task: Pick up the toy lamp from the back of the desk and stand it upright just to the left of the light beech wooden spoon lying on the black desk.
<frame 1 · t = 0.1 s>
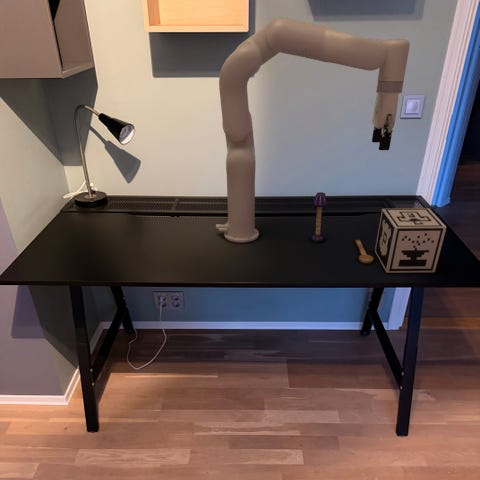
hand: (380, 146, 147), 31 cm above the table, tool pointing down, fingers open, 9 cm apart
toy lamp: (316, 239, 163), on the table
wooden spoon: (362, 253, 154), on the table
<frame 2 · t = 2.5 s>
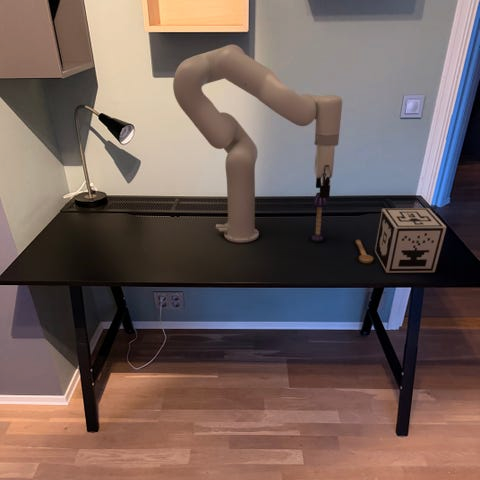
hand: (322, 192, 153), 17 cm above the table, tool pointing down, fingers open, 9 cm apart
nothing on the table moved.
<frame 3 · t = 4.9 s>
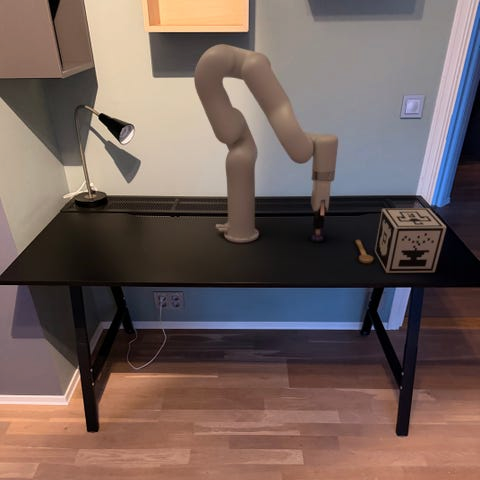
hand: (318, 226, 160), 5 cm above the table, tool pointing down, fingers closed on toy lamp
toy lamp: (316, 239, 163), on the table, touching gripper
everything else where it was.
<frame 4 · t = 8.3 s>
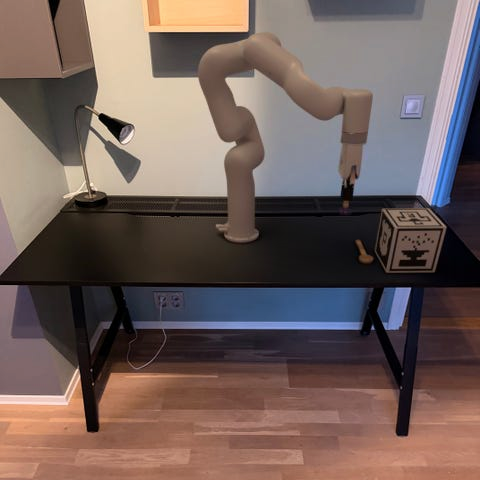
hand: (346, 198, 143), 19 cm above the table, tool pointing down, fingers closed on toy lamp
toy lamp: (344, 213, 146), point 14 cm above the table, touching gripper
everything else where it was.
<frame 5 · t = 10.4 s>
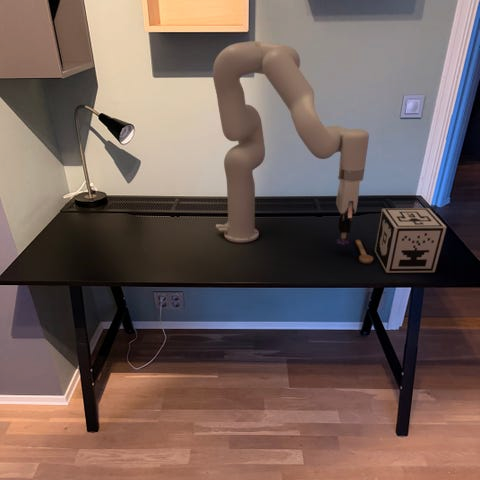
hand: (343, 230, 148), 9 cm above the table, tool pointing down, fingers closed on toy lamp
toy lamp: (342, 243, 151), point 4 cm above the table, touching gripper
everything else where it was.
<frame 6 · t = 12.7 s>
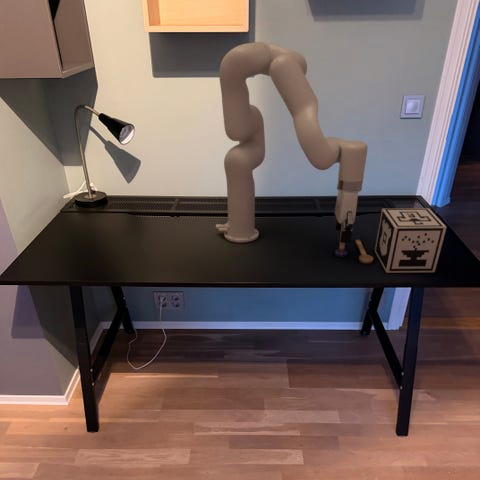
hand: (342, 236, 149), 7 cm above the table, tool pointing down, fingers open, 9 cm apart
toy lamp: (340, 254, 154), on the table
everything else where it was.
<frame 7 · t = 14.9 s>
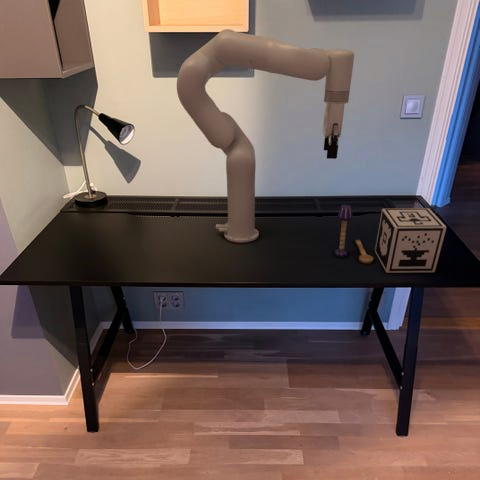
hand: (329, 154, 149), 29 cm above the table, tool pointing down, fingers open, 9 cm apart
nothing on the table moved.
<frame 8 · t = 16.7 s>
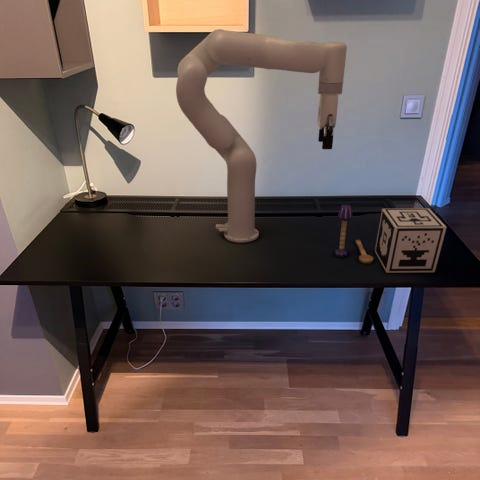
hand: (324, 145, 152), 30 cm above the table, tool pointing down, fingers open, 9 cm apart
nothing on the table moved.
at the end: toy lamp inside the target area on the table beside the wooden spoon (0.3 cm from its centre), on the table; toy lamp tilted 0°; the gripper is holding nothing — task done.
